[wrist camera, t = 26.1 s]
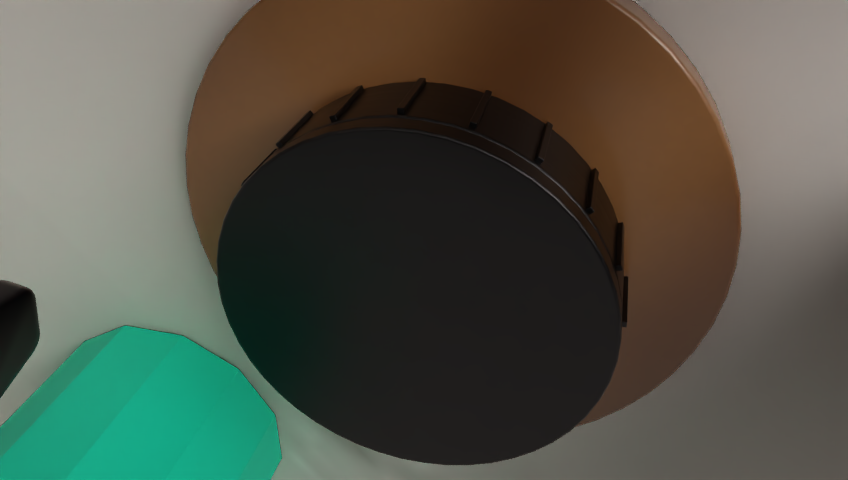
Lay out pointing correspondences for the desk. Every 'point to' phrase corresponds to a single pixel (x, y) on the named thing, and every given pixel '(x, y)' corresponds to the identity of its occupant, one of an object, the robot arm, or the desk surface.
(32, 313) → the robot arm
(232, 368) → the candle
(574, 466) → the desk surface
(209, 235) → the coaster
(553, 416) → the lid
